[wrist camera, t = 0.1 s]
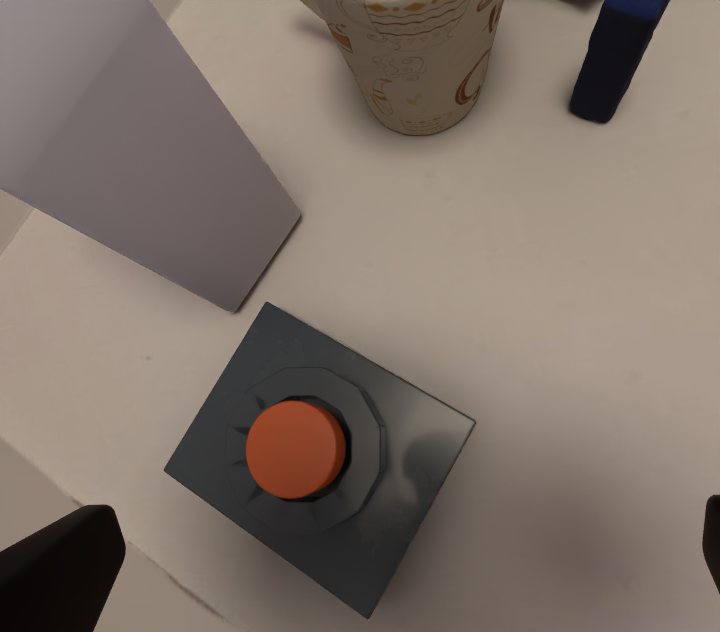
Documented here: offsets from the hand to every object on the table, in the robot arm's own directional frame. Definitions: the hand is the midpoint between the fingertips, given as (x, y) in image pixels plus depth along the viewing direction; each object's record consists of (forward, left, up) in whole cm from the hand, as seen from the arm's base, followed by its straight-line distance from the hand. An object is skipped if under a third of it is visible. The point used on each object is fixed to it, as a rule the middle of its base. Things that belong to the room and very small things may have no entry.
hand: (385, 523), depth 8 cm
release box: (+3, +4, -16) cm, 17 cm away
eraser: (+10, -16, -16) cm, 25 cm away
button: (+3, +4, -13) cm, 14 cm away
